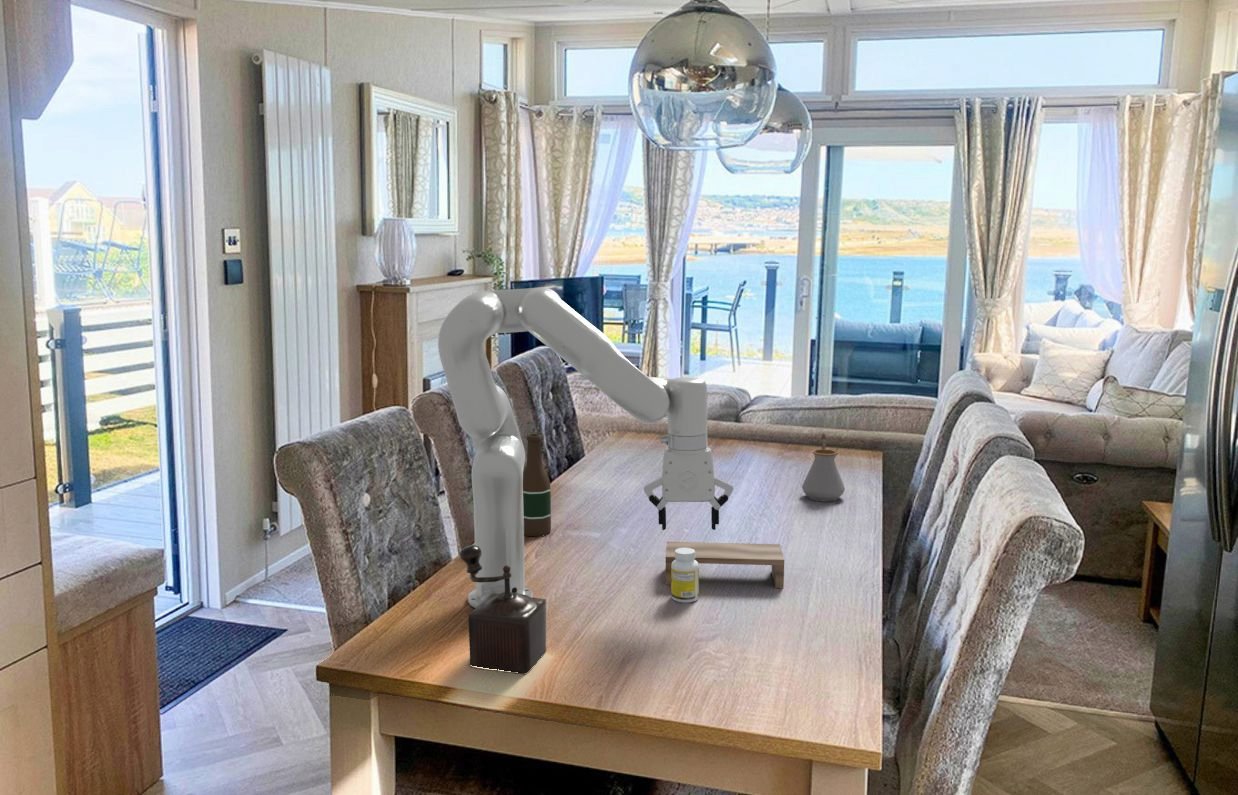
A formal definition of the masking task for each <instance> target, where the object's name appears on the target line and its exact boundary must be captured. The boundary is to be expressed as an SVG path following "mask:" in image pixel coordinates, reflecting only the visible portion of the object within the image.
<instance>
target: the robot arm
mask: <svg viewBox="0 0 1238 795" xmlns="http://www.w3.org/2000/svg"><path fill="white" fill-rule="evenodd" d="M519 332H520V333H522V332H523V333H524V332H529V333H530V334H531V335H532V336H533V337H535V338H536V339H537V340H539V341H540V342H541V343H542V344H544V345H545V346H546V347H548V348H549V349H550V350H551V351H552V352H554V353H555V354H556V355H558V356H559V357H560V358H562V359H563V360H564V361H565V362H567V364H568V365H570V366H571V367H573V368H574V369H575V371H577V372H578V373H579V375H580V374H581V376H582V377H584V378H585V379H586V380H588V381H589V382H590V383H592V384H593V385H594V386H595V387H596V388H598V390H600V391H601V392H602V394H605V396H607V398H609V399H610V400H611V401H613V402H614V403H615V404H616V405H617V406H619V407H620V408H621V409H622V410H624V412H625V411H626V413H628V414H629V415H630V416H632V417H633V418H634V419H635V420H637V421H638V422H641V423H644V424H655V423H657V422H659V421H661V420H663V419H664V417H666V416H667V429H668V430H667V432H668V433H667V434H666V435H663V436H660V444H664V445H666V446H667V447H665V449H664V452H663V457H662V468H661V476H660V477H659V478H656V479H654V480H652V481H651V482H649V483H647V484H645V485H644V486H643V492H644V493H645V495H646V497H647V498H648V501H649V502H651V504H652V505H653V506H654V507H656V509H657V510H658V512H657V513H658V525H661V530H662V531H665V530H666V529H667V507H666V505H667V504H668V503H669V502H670V503H706V502H708V503H709V504H710V505H711V507H710V508H711V514H710V515H711V530H713V531H716V525H720V509H721V507H722V506H724V505H725V504H726V503H727V502H728V500H729V498H730V496H731V494H732V493H733V491H734V485H733V484H731V483H729V482H728V481H726V480H725V481H724V480H722V479H721V478H719V477H716V476H715V465H714V455H713V452H712V448H710V447H708V387H707V382H706V381H705V380H704V379H703V378H699V377H694V376H693V377H690V376H689V377H688V376H686V377H685V376H684V377H677V378H665V377H658V376H657V377H656V376H655V377H654V376H647V374H645V373H644V372H642V370H640V369H639V368H638V367H637V366H635V365H634V364H633V363H632V362H630V361H629V360H628V359H627V358H626V357H625V356H624V355H623V353H621V352H620V350H618V349H617V347H616V346H615V345H614V343H613V342H612V341H611V340H610V338H608V337H607V335H605V334H604V332H602V331H601V330H600V329H598V328H597V327H596V326H594V325H593V324H592V323H590V321H589V320H587V319H586V318H584V317H583V316H582V315H581V314H579V312H577V311H575V309H574V308H572V307H571V306H570V305H568V304H567V303H566V302H565V301H564V300H562V299H561V296H560V295H559V294H558V293H557V292H556V291H555V290H554V289H551V288H549V287H545V286H543V287H539V286H538V287H529V288H516V289H497V290H496V289H495V290H483V291H482V290H481V291H476V292H474V293H472V294H469V295H467V296H465V298H463V299H462V300H461V301H459V302H458V303H457V304H456V305H455V306H454V307H453V308H452V309H451V311H450V312H449V313H448V314H447V315H446V317H444V320H443V322H442V324H441V327H440V329H439V332H438V339H437V342H438V343H437V346H438V354H439V359H440V363H441V366H442V370H443V373H444V375H445V380H446V383H447V387H448V390H449V393H450V396H451V399H452V403H453V406H454V409H455V413H456V416H457V420H458V423H459V425H460V427H461V429H462V430H463V432H465V434H467V435H468V436H470V438H471V440H472V444H473V447H474V449H475V450H474V451H475V453H476V454H475V456H474V458H473V462H472V466H471V486H472V488H471V489H472V498H473V500H472V502H473V503H472V504H473V525H474V526H473V527H474V528H473V530H474V545H476V546H478V547H479V548H480V549H481V557H480V560H479V563H480V565H481V566H482V570H480V571H478V573H477V575H476V577H497V576H502V575H503V573H504V571H503V567H504V566H505V565H509V567H510V568H511V569H510V573H511V575H512V577H510V592H512V588H514V587H515V588H517V593H518V594H523V595H527V596H529V597H531V598H534V593H533V591H532V590H531V589H530V588H529V587H526V586H525V584H526V582H525V581H526V579H525V577H526V576H525V572H526V571H525V569H526V568H525V536H524V512H523V471H524V470H525V463H526V450H525V447H524V443H523V441H522V437H521V434H520V431H519V428H518V427H519V426H518V425H517V421H516V417H515V414H514V411H513V409H512V408H513V407H512V405H511V403H510V399H509V397H508V395H507V394H506V392H505V390H503V389H502V388H501V387H500V386H499V385H497V384H496V383H495V380H494V376H493V374H492V370H491V365H490V363H489V360H488V357H487V354H486V350H485V345H486V341H487V340H488V339H489V338H490V337H491V336H492V337H493V335H494V334H505V333H506V334H507V333H519ZM659 487H661V495H662V496H661V497H660V498H659V497H658V496H657V495H656V494H655V493H654V489H655V490H656V489H657V488H659ZM716 487H719V488H720V489H723V490H724V491H723V493H722V494H721V495H720V496H719V497H718V498H717V497H716V496H715V493H716ZM503 592H505V582H504V579H503V580H500V581H496V582H482V583H480V582H475V588H474V589H473V590H472V591H470V592H469V594H468V595H467V601H468V604H469V605H470V606H471V607H473V608H474V609H475V608H476V607H477V606H479V605H480V604H481V603H482V602H483V601H484V600H485V599H487V598H488V597H489V596H490V595H491V594H493V593H496V594H501V593H503Z"/></svg>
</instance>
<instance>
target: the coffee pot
mask: <svg viewBox="0 0 1238 795" xmlns="http://www.w3.org/2000/svg"><path fill="white" fill-rule="evenodd" d="M820 436H821V437H820V440H821V449H819V448H818V449H814V450H813V451H812V454H813V455H814V460H813V462H812V464H811V466H810V468H809V471H808V472H807V475H806V477H805V478H804V481H803V483H802V485H801V488H802V491H803V494H805V496H807V497H808V498H809V500H813V501H816V502H834V501H837V500H838V498H840V497H841V496H842V495H843V494H844V492H845V490H846V488H845V484H844V483H843V479H842V477H841V475H840V472H839V469H838V467H837V464H836V461H835V459H836V457H837V455H838V454H839V452H838V451H836V450H832V449H826V447H827V441H826V440H827V439H828V437H829V436H828V435H827V434H826V433H824V432H823V433H821V434H820Z"/></svg>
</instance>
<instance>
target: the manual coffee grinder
mask: <svg viewBox="0 0 1238 795" xmlns="http://www.w3.org/2000/svg"><path fill="white" fill-rule="evenodd" d="M480 557H481V549H480V548H479V547H478V546H476V545H475V544H469V545H466V546H464V547H463V548H462V549H461V550H460V553H459V558H460V560H461V561H462V562H463V563H464V564H465V565H466V573H467V574H469V578H470V580H471V582H474V583H476V582H480V583H482V582H496V581H500V580H503V579H504V582H505V592H503V593H501V594H496V593H493V594H491V595H490V596H489V597H488V598H487V599H485V600H484V601H483V602H482V603H481V604H480V605H479V606H477V607H476V608H474V609H473V610H472V611H471V612H470V614H468V615H467V616H468V621H467V622H468V642H469V666H470V665H472V666H477V667H483V668H489V669H497V670H498V669H499V670H504V671H511V672H518V673H527V672H528V671H529V670H530V669H531V668H532V667H533V666H534V665H535V666H536V665H537V663H538V662H539V661H540V660H541V659H540V658H542V657H543V656H544V655H545V654H546V653H545V651H546V652H547V616H546V615H547V606H546V605H547V600H546V599H545V598H541V597H540V598H538V597H533V598H531V597H529V596H527V595H523V594H518V593H517V588H515V587H514V588H512V592H510V577H512V575H511V573H510V569H511V568H510V567H509V565H505V566H504V567H503V571H504V573H503V575H502V576H497V577H476V575H477V573H478V571H480V570H482V566H481V565H480V563H479V560H480ZM544 653H545V654H544ZM543 654H544V655H543ZM542 655H543V656H542ZM541 656H542V657H541ZM539 659H540V660H539ZM538 660H539V661H538ZM537 661H538V662H537ZM535 666H534V667H535ZM534 667H533V668H534ZM533 668H532V669H533ZM532 669H531V670H532ZM531 670H530V671H531ZM530 671H529V672H530ZM529 672H528V673H529ZM518 673H517V674H518ZM528 673H527V674H528Z"/></svg>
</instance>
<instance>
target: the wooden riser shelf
mask: <svg viewBox="0 0 1238 795" xmlns="http://www.w3.org/2000/svg"><path fill="white" fill-rule="evenodd" d="M665 546H666V548H665V571H664V572H665V577H664V578H665V580H664V581H665V582H664V583H665V586H671V564H672V562H673V561H674V560H676V558H675V550H676V549H678V548H691V549H694V550H695V559H694V560H696V561H697V562H698V564H703V565H704V564H709V565H710V564H711V565H713V564H714V565H747V566H750V565H751V566H754V565H755V566H771V574H772V579H773V582H774V587H775V589H784V587H785V586H784V585H785V583H784V582H785V557H784V553H783V551H782V548H781V547H782V546H781V544H777V543H744V542H739V543H738V542H702V541H700V542H699V541H697V542H696V541H695V542H694V541H693V542H692V541H691V542H690V541H666V545H665Z"/></svg>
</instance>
